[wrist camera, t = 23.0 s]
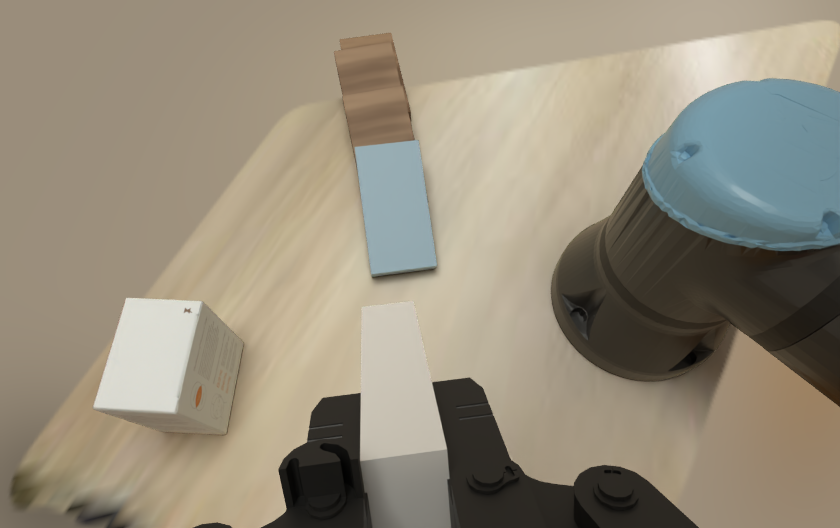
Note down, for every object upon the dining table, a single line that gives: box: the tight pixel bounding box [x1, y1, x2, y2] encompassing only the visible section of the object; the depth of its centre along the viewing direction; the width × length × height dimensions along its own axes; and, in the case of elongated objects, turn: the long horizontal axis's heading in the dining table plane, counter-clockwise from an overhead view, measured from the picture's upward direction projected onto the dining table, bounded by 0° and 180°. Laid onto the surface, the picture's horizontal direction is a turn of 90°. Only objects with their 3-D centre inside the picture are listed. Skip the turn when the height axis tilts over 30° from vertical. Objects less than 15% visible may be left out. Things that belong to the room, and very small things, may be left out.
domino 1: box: [334, 42, 401, 96], centre depth 55 cm, size 2×6×12 cm
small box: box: [93, 298, 244, 435], centre depth 40 cm, size 8×6×10 cm
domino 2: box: [340, 33, 411, 122], centre depth 59 cm, size 2×6×12 cm
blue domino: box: [355, 140, 437, 277], centre depth 49 cm, size 2×6×12 cm
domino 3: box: [343, 86, 428, 201], centre depth 52 cm, size 2×6×12 cm
